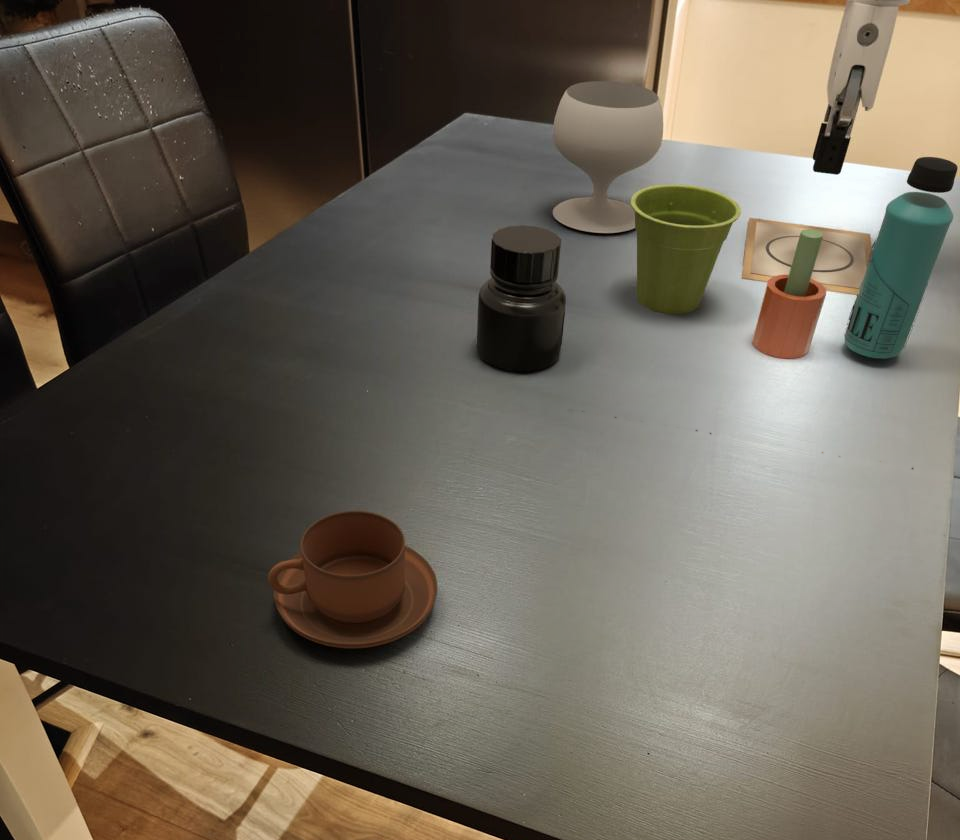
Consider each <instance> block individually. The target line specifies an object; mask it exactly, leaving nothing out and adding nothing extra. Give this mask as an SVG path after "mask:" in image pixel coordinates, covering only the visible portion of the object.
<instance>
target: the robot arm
mask: <svg viewBox="0 0 960 840" xmlns="http://www.w3.org/2000/svg"><path fill="white" fill-rule="evenodd" d="M910 2H911V0H846V4H845V7H844V10H843V15H842V18H841V21H840V25H839V30H838V33H837V36H836V42H835V46H834V50H833V53H832V54H833V55H832V59H831V63H830V68H829V73H828V79H827V85H826V94H827V95H826V96H827V107H826V111H825V114H824V118H823V122H821V124H820V127H819V131H818V135H817V139H816V142H815V146H814V149H813V152H812V160H813V161H814V162H813V166H812V171H813V172H814V173H822V174H827V175H835V176H837V175H840V174H841V173H842V169H843V166H844V163H845V159H846V155H847V153H848V149H849V145H850V142H851V139H852V137H851V135H852V131H853V128H854V124H855V120H856V117H857V113H858V109H859V106H860V102H861V107H862V108H864V111H865V112H869V111H871V110H872V109H874V104H875V101H876V98H877V95H878V89H879V87H880V83H881V78H882V75H883V72H884V68H885V64H886V62H887V57H888V54H889V49H890V46H891V42H892V39H893V35H894V30H895V26H896V23H897V17H898V13H899V7H900V6H906V5H908V4H910Z"/></svg>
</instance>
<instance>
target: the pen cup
mask: <svg viewBox="0 0 960 840" xmlns="http://www.w3.org/2000/svg"><path fill="white" fill-rule="evenodd" d="M788 276H789V275H778V276H774V277H772V278H770V279H769V280H768V281H767V282H766V286H765V289H764V293H763V297H762V301H761V305H760V308H759V312H758V316H757V320H756V323H755V327H754V331H753V334H752V341H751V344H752V346H753V347H754V348H755V349H756V351H758V352H760V353H761V354H763V355H766V356H768V357H771V358H775V359H783V360H795V359H799V358H802V357H804V356H806V355H807V354H808V353H809V351H810V348H811V345H812V341H813V338H814V334H815V331H816V328H817V326H818V325H817V324H818V322H819V319H820V315H821V314H822V313H821V312H822V309H823V306H824V302H825V300H826V296H827V291H826V288H825V287H824V286H823V285H822V284H821V283H819V282H817V281H815V280H813V279H810V282H809V286H808V289H807V292H806V296H805V297H799V296H793V295H789V294H786V293H784V291H785V287H786V284H787V280H788Z"/></svg>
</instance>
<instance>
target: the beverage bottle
mask: <svg viewBox="0 0 960 840" xmlns="http://www.w3.org/2000/svg"><path fill="white" fill-rule="evenodd" d="M957 174H958V165H957V164H956V163H955V162H953V161H951V160H949V159H946V158H942V157H935V156H921V157H919V158H917V159H916V160H915V161H914V163H913V165H912V167H911V170H910V172H909V174H908V176H907V179H906V183H907V185H908V186H910V187H911V188H914V189H916V190H918V191H908V192H905V193H902V194H900V195H899V196H897V197H895V198H894V199H892V200H890V202H888V203H887V205H886V207H885V213H884V216H883V219H882V222H881V225H880V228H879V230H878V233H877V234H876V235H875V238H876V239H875V241H873V243H872V250H871V251H872V253H870V254H871V255H869V258H870V260H869V261H868V262H869V263H868V262H867V263H868V266H867V269H866V272H865V275H864V278H863V281H862V283H860V284H861V286H860V290H859V293H858V295H856V297H855V300H854V301H853V305H852V308H851V310H850V312H849V315H848V322H847V323H846V327H845V329H844V330H845V332H844V333H843V335H844V344H845V345H846V347H847V348H848V349H849V350H851V351H853V352H854V353H857V354H859V355H861V356H864V357H867V358H871V359H892V358H896V357H897V356H899V355H900V354H901V352H902V351H903V349H905V348H907V344H908V339H910V336H911V334H912V332H913V331H912V330H913V328H914V325H915V323H916V317H917V314H919V312H920V310H919V309H920V306H922V303H923V301H924V298H925V297H924V296H925V293H926V290H927V288H928V285H929V280H930V277H931V275H932V273H933V269H934V267H935V264H936V262H937V259H938V257H939V254H940V252H941V249H942V246H943V244H944V241H945V238H946V236H947V234H948V231H949V228H950V226H951V224H952V222H953V220H954V213H953V211H952V209H951V207H950V205H949V204H948V203H947V201H946V200H945V198H943V197H941V196H939V195H936V194H941V193H942V194H944V193H948V192H951V191H952V190H953V187H954V185H955V179H956V175H957ZM933 193H934V194H933ZM935 193H936V194H935ZM866 265H867V264H866Z"/></svg>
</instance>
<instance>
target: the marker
mask: <svg viewBox="0 0 960 840" xmlns="http://www.w3.org/2000/svg"><path fill="white" fill-rule="evenodd" d="M822 238H823V234H822V233H821V232H820V231H817V230H813V229H805V230H802V231H801V233H800V237H799V240H798V244H797V248H796V251H795V255H794V258H793V262H792V266H791V269H790V273H789V276H788V280H787V284H786V287H785V291H784V293H786V294H789V295H793V296H799V297H805V296H806V292H807V289H808V286H809V282H810V279H811V275H812V272H813V269H814V265H815V262H816V258H817V255H818V252H819V248H820V245H821V242H822Z"/></svg>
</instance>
